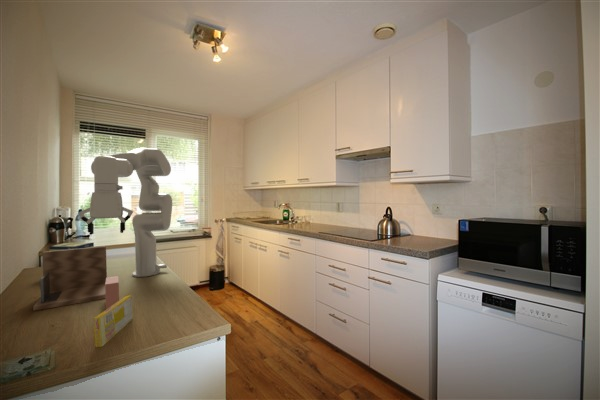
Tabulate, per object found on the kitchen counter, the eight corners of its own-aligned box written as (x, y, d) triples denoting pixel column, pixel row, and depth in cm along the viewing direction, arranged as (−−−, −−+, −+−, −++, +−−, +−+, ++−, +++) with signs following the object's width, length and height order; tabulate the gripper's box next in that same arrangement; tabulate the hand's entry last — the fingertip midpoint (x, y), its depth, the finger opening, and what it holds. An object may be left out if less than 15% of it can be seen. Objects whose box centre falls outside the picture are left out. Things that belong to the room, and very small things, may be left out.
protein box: (79, 276, 139) (78, 246, 139) (49, 276, 140) (48, 246, 139) (95, 270, 150) (94, 242, 150) (66, 271, 150) (66, 242, 150)
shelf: (107, 285, 125) (105, 246, 125) (105, 298, 110) (104, 253, 110) (44, 295, 113) (43, 251, 113) (33, 310, 98) (31, 260, 98)
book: (119, 298, 110) (118, 275, 110) (119, 306, 102) (118, 282, 101) (106, 300, 108) (106, 277, 107) (105, 309, 99) (105, 284, 99)
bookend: (61, 292, 113) (61, 270, 113) (56, 300, 104) (56, 276, 104) (47, 294, 110) (46, 271, 110) (41, 303, 101) (40, 278, 101)
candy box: (126, 320, 91) (125, 295, 90) (133, 319, 91) (132, 294, 91) (93, 347, 74) (93, 317, 74) (102, 347, 75) (101, 316, 74)
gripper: (133, 189, 114) (133, 231, 114) (80, 189, 106) (81, 233, 106) (131, 188, 107) (132, 232, 107) (75, 188, 99) (76, 236, 99)
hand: (107, 233), depth 106 cm, fingers open, 9 cm apart
